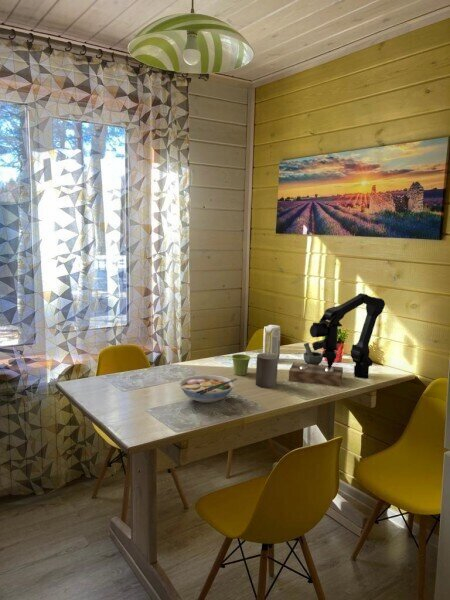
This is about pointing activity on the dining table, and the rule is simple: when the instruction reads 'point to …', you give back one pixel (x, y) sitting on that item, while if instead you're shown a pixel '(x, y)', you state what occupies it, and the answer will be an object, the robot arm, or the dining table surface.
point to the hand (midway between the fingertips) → (329, 368)
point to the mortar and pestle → (312, 356)
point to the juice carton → (271, 340)
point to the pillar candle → (266, 370)
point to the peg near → (329, 369)
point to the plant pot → (240, 363)
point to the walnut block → (315, 374)
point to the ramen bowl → (206, 387)
